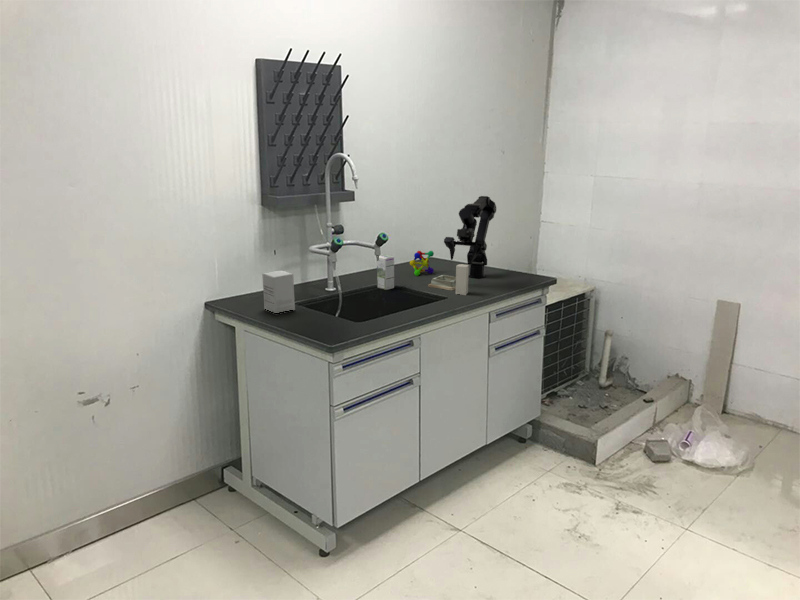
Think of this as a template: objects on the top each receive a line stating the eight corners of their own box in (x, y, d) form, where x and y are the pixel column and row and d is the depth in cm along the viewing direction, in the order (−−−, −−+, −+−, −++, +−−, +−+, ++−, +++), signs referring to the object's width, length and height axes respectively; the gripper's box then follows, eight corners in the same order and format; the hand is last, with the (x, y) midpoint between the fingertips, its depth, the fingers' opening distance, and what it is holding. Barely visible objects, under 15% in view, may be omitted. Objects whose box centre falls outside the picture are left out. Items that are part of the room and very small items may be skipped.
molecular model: (416, 276, 306) (417, 253, 303) (408, 274, 311) (408, 250, 308) (435, 274, 312) (436, 251, 309) (426, 271, 318) (427, 249, 315)
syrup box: (394, 288, 284) (394, 256, 280) (385, 290, 280) (385, 258, 276) (385, 285, 288) (385, 254, 284) (376, 287, 284) (376, 256, 280)
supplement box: (283, 305, 255) (281, 269, 251) (295, 310, 248) (294, 273, 244) (263, 309, 249) (261, 272, 245) (275, 314, 242) (273, 276, 239)
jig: (441, 281, 297) (441, 274, 296) (465, 284, 290) (465, 277, 289) (428, 286, 287) (428, 279, 286) (452, 290, 280) (452, 282, 279)
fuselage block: (457, 291, 278) (458, 264, 275) (467, 292, 277) (468, 264, 273) (455, 294, 274) (456, 266, 271) (465, 295, 272) (466, 267, 269)
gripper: (444, 219, 281) (436, 250, 276) (484, 222, 274) (477, 254, 269) (450, 231, 291) (443, 261, 286) (489, 234, 284) (482, 265, 279)
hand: (461, 260), depth 280 cm, fingers open, 9 cm apart
